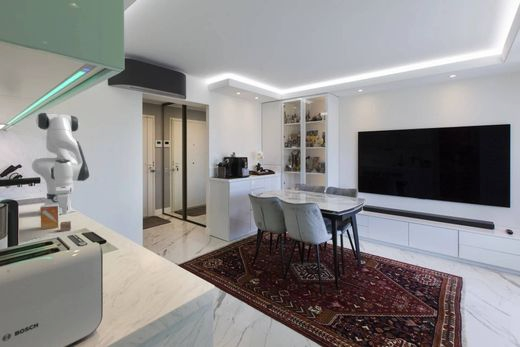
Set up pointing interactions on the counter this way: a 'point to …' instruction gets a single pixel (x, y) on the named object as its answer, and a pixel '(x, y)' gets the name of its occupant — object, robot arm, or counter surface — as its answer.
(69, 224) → the walnut cube
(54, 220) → the small box
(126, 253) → the counter surface
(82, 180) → the robot arm
